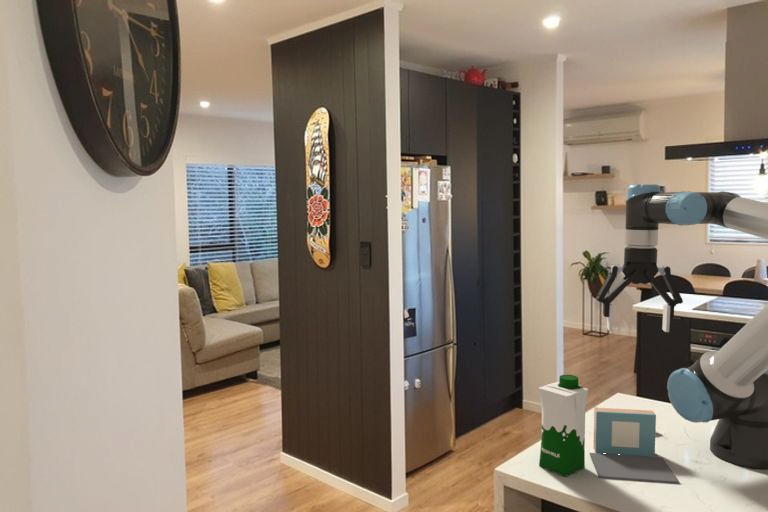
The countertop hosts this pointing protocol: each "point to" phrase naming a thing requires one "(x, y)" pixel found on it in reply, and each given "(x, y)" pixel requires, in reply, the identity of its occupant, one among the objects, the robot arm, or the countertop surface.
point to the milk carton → (563, 426)
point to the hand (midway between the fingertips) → (637, 330)
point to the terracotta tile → (624, 431)
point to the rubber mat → (633, 468)
